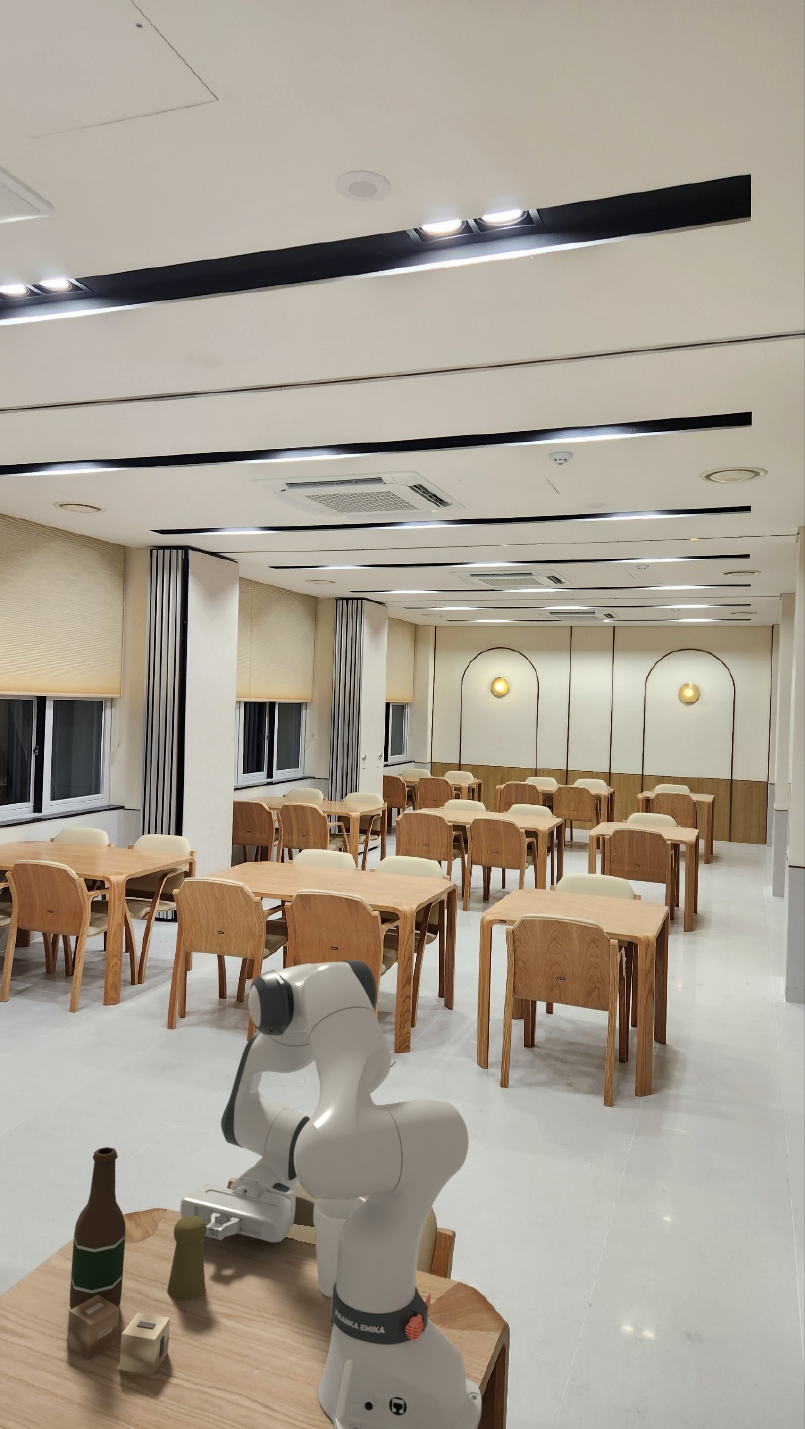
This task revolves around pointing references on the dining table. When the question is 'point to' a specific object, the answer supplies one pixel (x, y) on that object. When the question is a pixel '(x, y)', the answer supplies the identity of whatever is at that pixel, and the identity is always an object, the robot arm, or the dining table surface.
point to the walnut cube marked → (93, 1326)
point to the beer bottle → (99, 1238)
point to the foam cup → (330, 1237)
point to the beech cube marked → (144, 1343)
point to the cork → (188, 1259)
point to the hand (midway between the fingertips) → (212, 1233)
